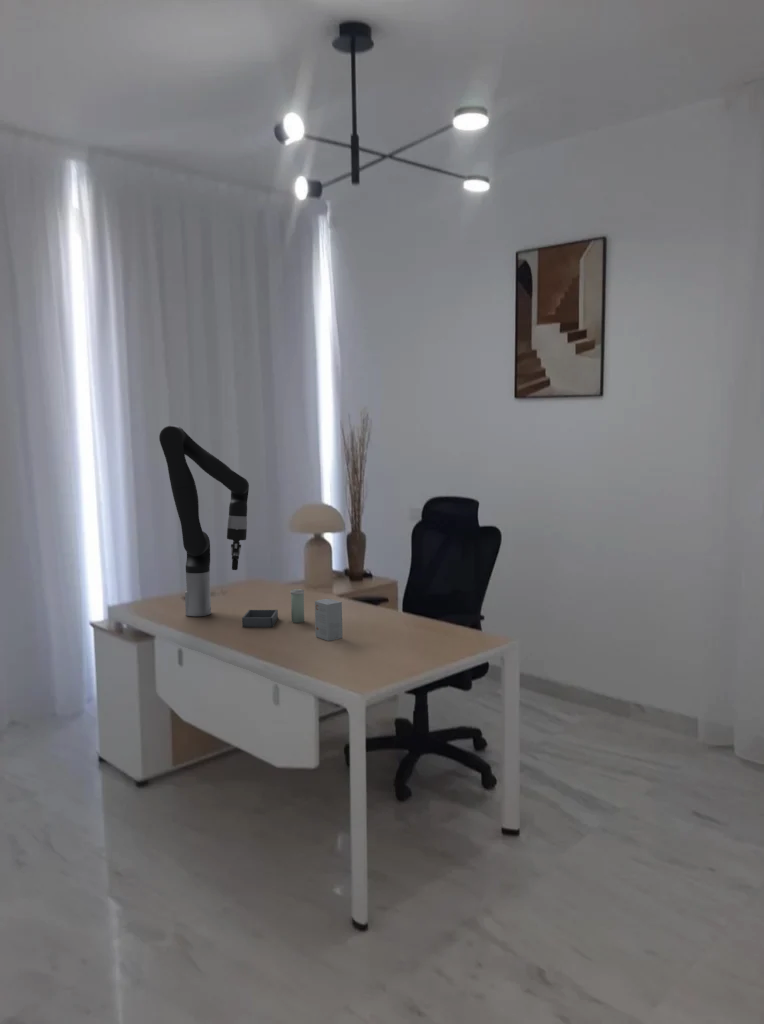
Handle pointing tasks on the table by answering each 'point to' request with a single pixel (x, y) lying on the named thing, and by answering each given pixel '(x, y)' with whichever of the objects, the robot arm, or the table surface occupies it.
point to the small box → (328, 619)
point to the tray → (260, 618)
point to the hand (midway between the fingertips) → (234, 568)
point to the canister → (297, 605)
